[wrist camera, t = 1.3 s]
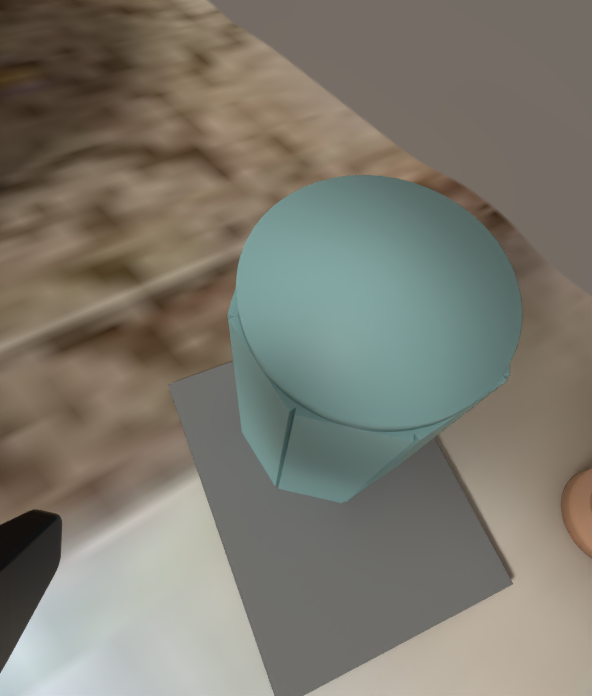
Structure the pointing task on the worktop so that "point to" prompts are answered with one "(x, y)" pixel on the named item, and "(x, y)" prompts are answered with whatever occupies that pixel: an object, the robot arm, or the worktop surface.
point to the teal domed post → (365, 329)
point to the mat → (334, 548)
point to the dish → (579, 510)
